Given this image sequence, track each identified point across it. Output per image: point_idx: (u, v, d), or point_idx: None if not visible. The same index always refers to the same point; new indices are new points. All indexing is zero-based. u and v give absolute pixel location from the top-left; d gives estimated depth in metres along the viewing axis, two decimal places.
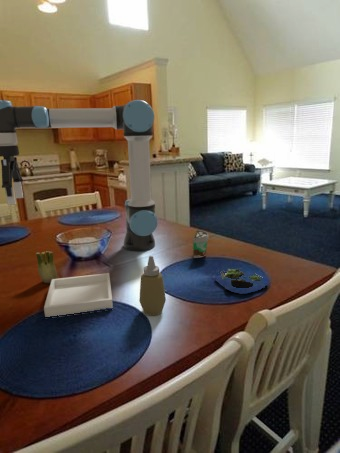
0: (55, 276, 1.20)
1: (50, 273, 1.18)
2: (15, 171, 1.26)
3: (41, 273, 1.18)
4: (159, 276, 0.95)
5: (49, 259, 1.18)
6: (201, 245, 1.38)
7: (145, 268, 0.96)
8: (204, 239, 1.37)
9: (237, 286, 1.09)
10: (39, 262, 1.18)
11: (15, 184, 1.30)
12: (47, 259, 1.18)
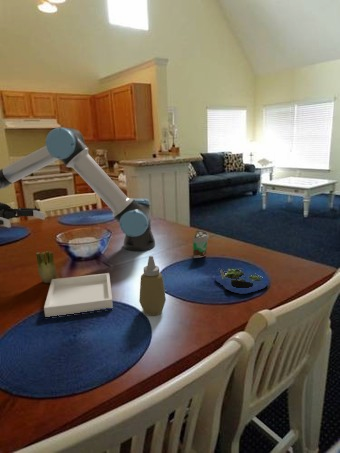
0: (55, 276, 1.20)
1: (50, 273, 1.18)
2: (20, 211, 1.29)
3: (41, 273, 1.18)
4: (159, 276, 0.95)
5: (49, 259, 1.18)
6: (201, 245, 1.38)
7: (145, 268, 0.96)
8: (204, 239, 1.37)
9: (237, 286, 1.09)
10: (39, 262, 1.18)
11: (34, 215, 1.28)
12: (47, 259, 1.18)
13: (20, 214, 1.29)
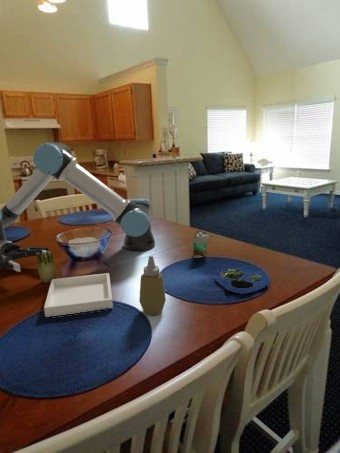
0: (55, 276, 1.20)
1: (50, 273, 1.18)
2: (29, 251, 1.31)
3: (41, 273, 1.18)
4: (159, 276, 0.95)
5: (49, 259, 1.18)
6: (201, 245, 1.38)
7: (145, 268, 0.96)
8: (204, 239, 1.37)
9: (237, 286, 1.10)
10: (39, 262, 1.18)
11: None
12: (47, 259, 1.18)
13: (29, 254, 1.32)
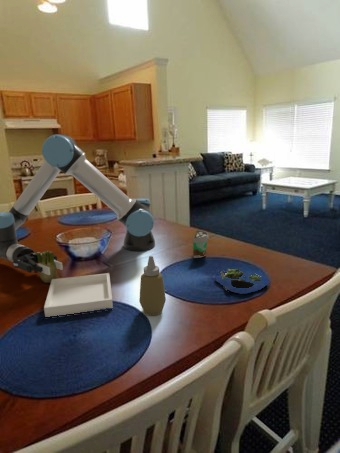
0: (55, 276, 1.20)
1: (51, 273, 1.18)
2: None
3: (41, 273, 1.18)
4: (159, 276, 0.95)
5: (49, 259, 1.18)
6: (201, 245, 1.38)
7: (145, 268, 0.96)
8: (204, 239, 1.37)
9: (237, 286, 1.09)
10: (39, 262, 1.18)
11: None
12: (47, 259, 1.18)
13: None
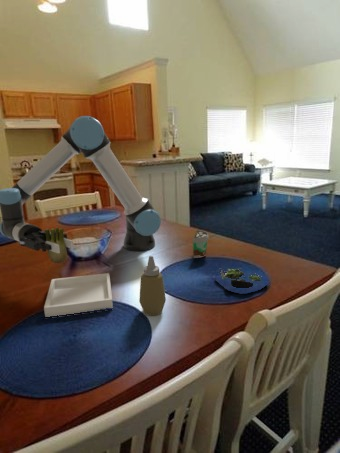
0: (65, 255, 1.09)
1: (60, 252, 1.07)
2: None
3: (50, 251, 1.07)
4: (159, 276, 0.95)
5: (59, 236, 1.07)
6: (201, 245, 1.38)
7: (145, 268, 0.96)
8: (204, 239, 1.37)
9: (237, 286, 1.09)
10: (48, 239, 1.07)
11: None
12: (57, 236, 1.07)
13: None
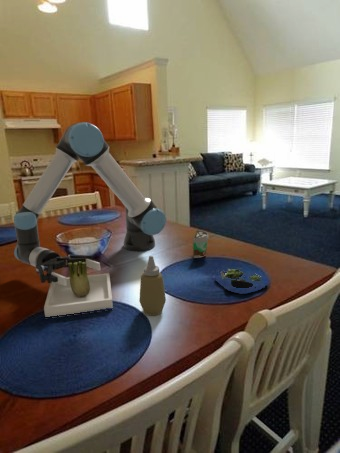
0: (88, 289, 1.07)
1: (83, 286, 1.06)
2: (71, 260, 1.13)
3: (73, 286, 1.06)
4: (159, 276, 0.95)
5: (82, 270, 1.05)
6: (201, 245, 1.38)
7: (145, 268, 0.96)
8: (204, 239, 1.37)
9: (237, 286, 1.10)
10: (71, 273, 1.05)
11: (87, 265, 1.13)
12: (80, 270, 1.05)
13: None
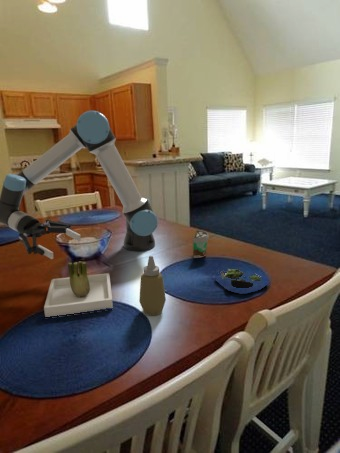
0: (88, 289, 1.07)
1: (83, 286, 1.06)
2: (51, 228, 1.22)
3: (73, 286, 1.06)
4: (159, 276, 0.95)
5: (82, 270, 1.05)
6: (201, 245, 1.38)
7: (145, 268, 0.96)
8: (204, 239, 1.37)
9: (237, 286, 1.10)
10: (71, 273, 1.05)
11: (67, 234, 1.23)
12: (80, 270, 1.05)
13: (51, 231, 1.23)
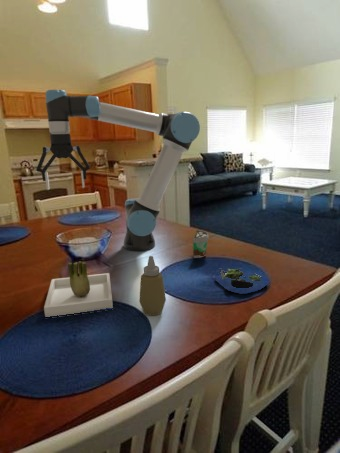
0: (88, 289, 1.07)
1: (83, 286, 1.06)
2: None
3: (73, 286, 1.06)
4: (159, 276, 0.95)
5: (82, 270, 1.05)
6: (201, 245, 1.38)
7: (145, 268, 0.96)
8: (204, 239, 1.37)
9: (237, 286, 1.09)
10: (71, 273, 1.05)
11: None
12: (80, 270, 1.05)
13: None
